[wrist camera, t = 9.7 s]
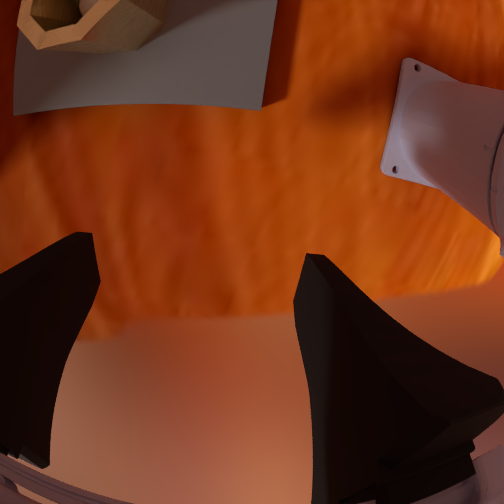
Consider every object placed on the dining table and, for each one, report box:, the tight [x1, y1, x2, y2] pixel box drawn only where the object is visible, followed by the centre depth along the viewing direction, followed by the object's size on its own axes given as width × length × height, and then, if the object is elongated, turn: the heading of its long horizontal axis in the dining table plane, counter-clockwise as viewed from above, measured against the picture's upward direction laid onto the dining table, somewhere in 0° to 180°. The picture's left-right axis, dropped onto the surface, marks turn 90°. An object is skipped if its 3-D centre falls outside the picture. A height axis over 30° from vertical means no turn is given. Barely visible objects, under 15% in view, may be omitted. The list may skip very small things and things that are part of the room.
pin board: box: [13, 0, 277, 116], centre depth 9 cm, size 16×11×6 cm
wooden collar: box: [17, 0, 170, 54], centre depth 8 cm, size 5×5×6 cm
